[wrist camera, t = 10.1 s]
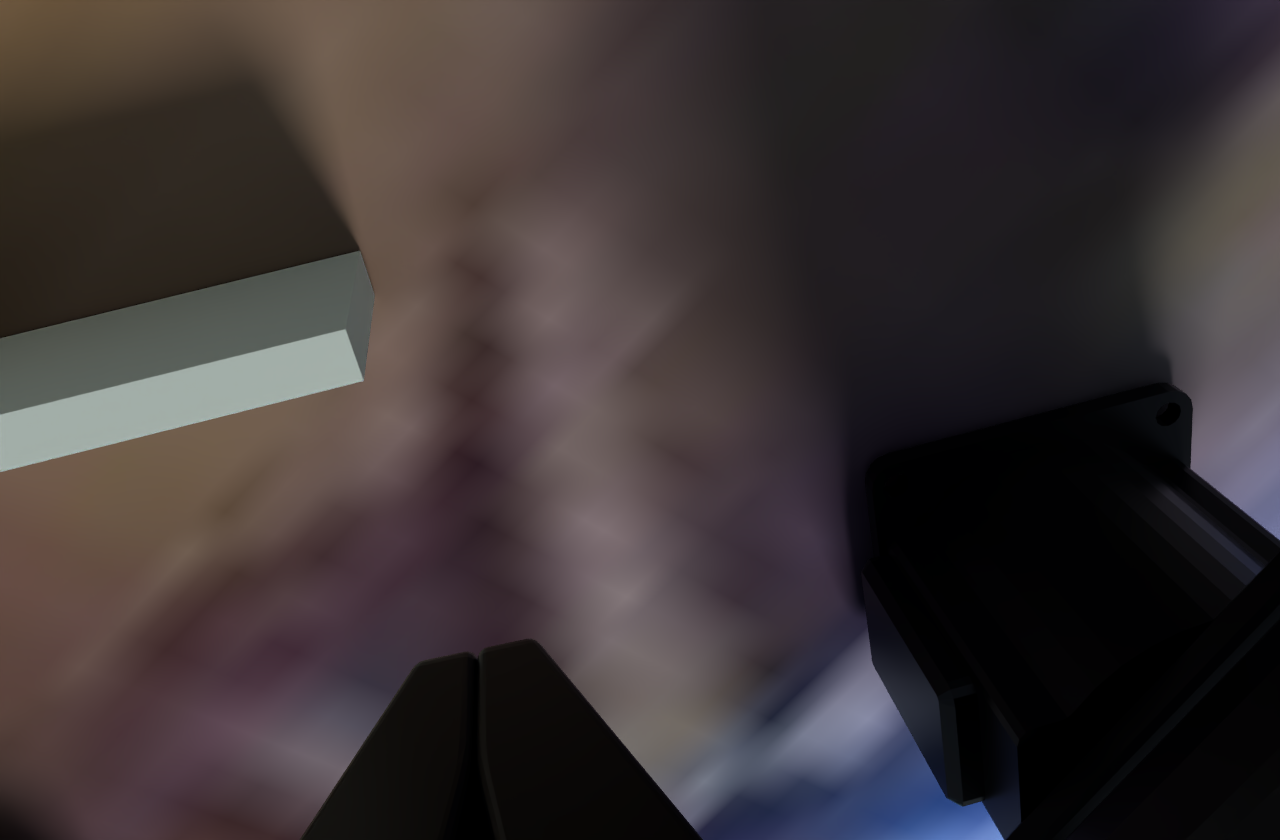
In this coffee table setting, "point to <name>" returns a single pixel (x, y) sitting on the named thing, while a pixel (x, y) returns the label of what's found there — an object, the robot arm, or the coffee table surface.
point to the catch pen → (183, 359)
